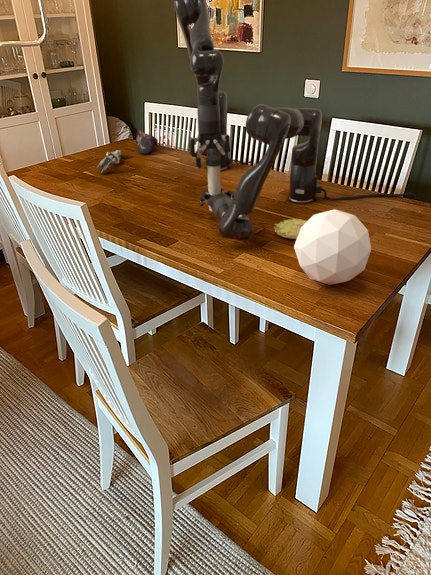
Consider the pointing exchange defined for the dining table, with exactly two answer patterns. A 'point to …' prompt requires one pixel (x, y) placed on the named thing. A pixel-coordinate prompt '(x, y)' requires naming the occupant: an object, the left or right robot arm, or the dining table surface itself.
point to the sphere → (333, 247)
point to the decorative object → (290, 228)
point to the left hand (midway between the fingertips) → (210, 166)
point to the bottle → (214, 180)
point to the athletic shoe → (146, 142)
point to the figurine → (110, 160)
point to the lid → (213, 161)
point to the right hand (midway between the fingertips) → (213, 191)
